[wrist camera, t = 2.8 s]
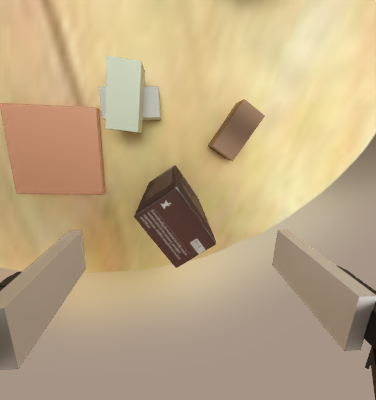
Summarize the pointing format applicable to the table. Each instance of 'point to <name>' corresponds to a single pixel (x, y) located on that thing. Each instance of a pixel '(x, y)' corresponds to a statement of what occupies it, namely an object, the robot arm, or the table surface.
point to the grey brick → (149, 103)
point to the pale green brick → (124, 94)
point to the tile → (54, 148)
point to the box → (174, 218)
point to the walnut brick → (236, 130)
